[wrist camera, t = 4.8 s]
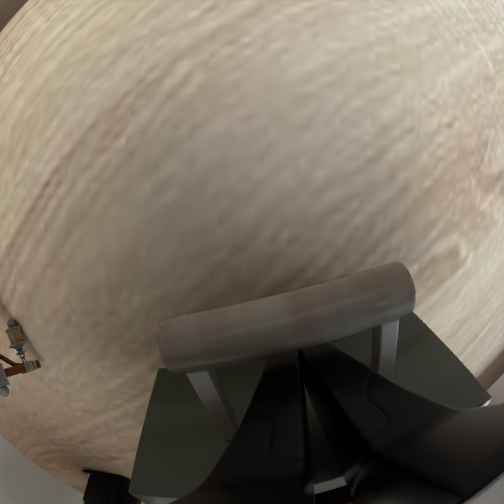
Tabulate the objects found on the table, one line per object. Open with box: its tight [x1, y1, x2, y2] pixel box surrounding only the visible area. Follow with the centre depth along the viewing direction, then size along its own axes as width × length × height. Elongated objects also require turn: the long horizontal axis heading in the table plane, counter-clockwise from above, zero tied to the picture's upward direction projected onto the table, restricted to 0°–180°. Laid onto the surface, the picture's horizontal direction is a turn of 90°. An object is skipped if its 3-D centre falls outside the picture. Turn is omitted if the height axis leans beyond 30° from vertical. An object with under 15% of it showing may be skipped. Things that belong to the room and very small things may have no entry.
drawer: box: [129, 262, 491, 504], centre depth 10 cm, size 17×12×7 cm
